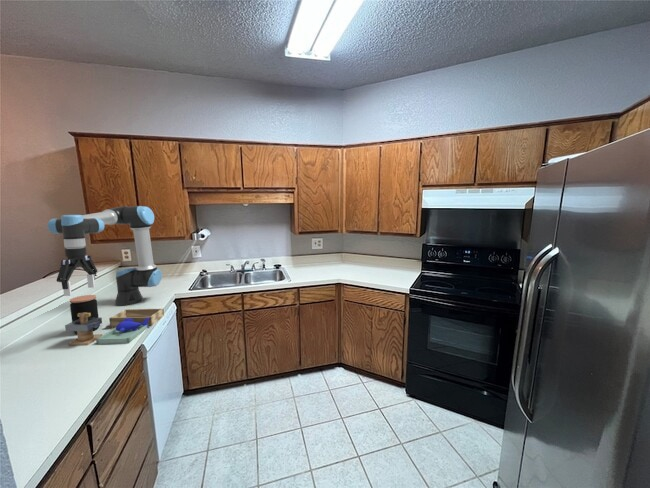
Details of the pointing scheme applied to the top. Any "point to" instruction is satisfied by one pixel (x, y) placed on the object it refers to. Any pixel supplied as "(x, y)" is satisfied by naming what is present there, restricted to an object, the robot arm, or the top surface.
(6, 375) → the top surface
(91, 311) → the coffee jar
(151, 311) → the crate
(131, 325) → the fish toy
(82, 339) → the handle
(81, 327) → the gray rectangular frame
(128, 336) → the tray
